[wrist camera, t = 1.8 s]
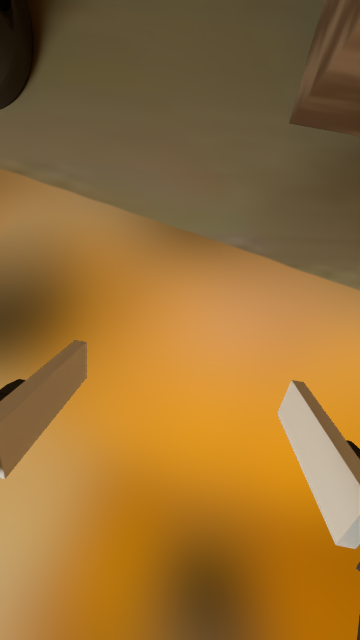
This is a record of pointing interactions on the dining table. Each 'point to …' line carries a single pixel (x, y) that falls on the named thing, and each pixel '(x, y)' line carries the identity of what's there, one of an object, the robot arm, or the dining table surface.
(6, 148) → the dining table surface
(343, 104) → the two-tone wood block
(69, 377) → the robot arm
